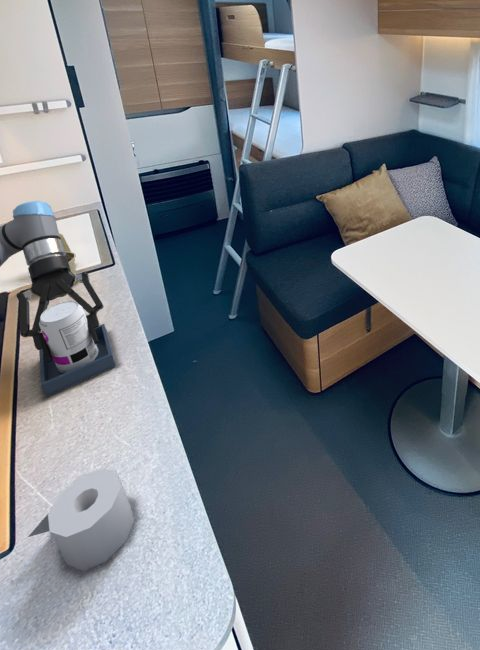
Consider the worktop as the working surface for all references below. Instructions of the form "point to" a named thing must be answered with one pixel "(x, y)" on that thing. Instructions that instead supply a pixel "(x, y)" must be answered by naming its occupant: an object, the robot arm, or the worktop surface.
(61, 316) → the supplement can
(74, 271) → the flower pot
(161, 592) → the worktop surface
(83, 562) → the toilet tissue
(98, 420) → the worktop surface
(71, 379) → the blue open tray
